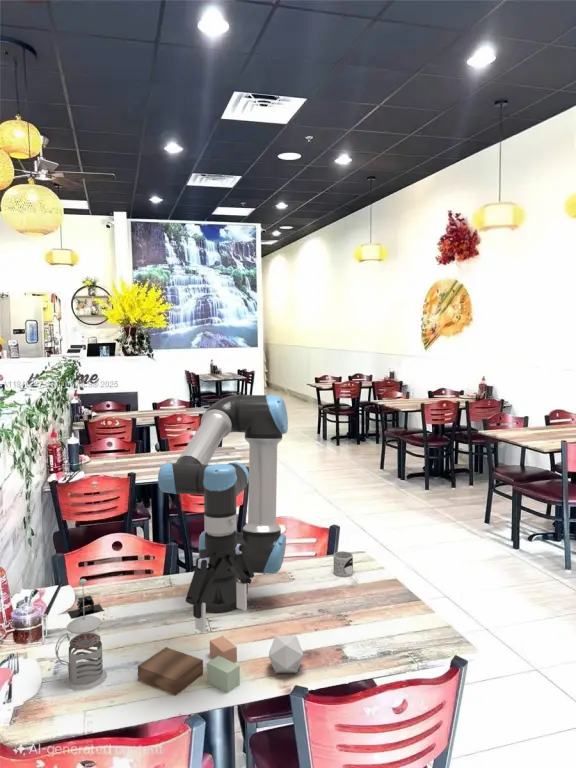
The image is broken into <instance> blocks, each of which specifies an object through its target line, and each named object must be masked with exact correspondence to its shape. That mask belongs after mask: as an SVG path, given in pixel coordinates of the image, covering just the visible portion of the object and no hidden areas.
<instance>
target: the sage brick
mask: <svg viewBox="0 0 576 768" xmlns="http://www.w3.org/2000/svg"><path fill="white" fill-rule="evenodd" d="M240 674H241V672H240V665H239V664H237V663H236V662H234V663H233V662H231V661H229V660H227V659H225V658H223V657H220V656H217V657H216V658H213V659H211V660H209V661H207V662H206V683H208V684H210V685H212V686H214V687H216V688H217V689H219V690H221V691H223V692H225V693H227V694H229V693H230V692H232V691H233V690H235V689H236V688H238V687H240V685H241V684H240V678H241V677H240Z"/></svg>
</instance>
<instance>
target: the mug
mask: <svg viewBox="0 0 576 768" xmlns="http://www.w3.org/2000/svg"><path fill="white" fill-rule="evenodd" d="M353 561H354V555H353V553H352V552H348V551H336V552H333V575H334V576H336V577H338V578H349V577H353V575H354V569H353V568H354V566H353V565H354V563H353Z"/></svg>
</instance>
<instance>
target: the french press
mask: <svg viewBox="0 0 576 768" xmlns="http://www.w3.org/2000/svg"><path fill="white" fill-rule="evenodd" d="M78 585H79V586H82V587H84V586H85V585H88V581H87V579H85V578H80V580H78ZM84 594H85V593H84V590H82V597H83V607H82V608H83V613H84V607H85V606H84V597H85V595H84ZM102 620H103V619H101V618H99V617H97V616H95V615H86V616H81V617H78V618H74V619H73V620H71V621H70V622H69V623H68V624H66V630H67V631H68V632H69V633H72V634H75V636H74V637H72V638H71V637H70V636H69V633H67V632H65V633H64V634H62V635H61V636H60V637H59V638H58V640H57V642H56V644H55V649H54V650H55V651H54V652H55V655H56V658H57V660H58V662H59V664H61V665H63V666H67V670H68V676H67V678H66V679H65V686H66V687H67V688H68V689H70V690H73V691H86V690H91V689H92V690H93V689H94V688H96V687H98V686H101V685H102V684H103V683H104V682H105V681H106V679H107V678H108V672H107V671H106V670H105V669H104V666H103V663H104V662H103V660H104V659H103V644H102V643H103V642H102V640H101V635H99V634H98V633H93V632H94V631H96V630H98V629H99V628H100V627H101V626H102V624H103V622H102ZM76 634H77V635H76ZM65 635H66V636H65ZM64 636H65V637H64ZM63 637H64V638H63ZM62 638H63V639H62ZM70 638H71V639H70ZM61 639H62V640H61ZM66 639H67V640H68V641H69V647H68V661H65V660H62V659H60V657H59V650H60V646H61V644H62V643H63V642H64V641H65V640H66ZM60 640H61V641H60ZM59 642H60V643H59ZM92 647H93V648H97V649H92ZM80 650H82V651H80ZM85 651H88V652H85ZM89 652H90V653H89ZM82 660H85V661H82ZM65 663H66V664H65Z"/></svg>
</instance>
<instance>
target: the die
mask: <svg viewBox="0 0 576 768" xmlns="http://www.w3.org/2000/svg"><path fill="white" fill-rule="evenodd" d="M268 658H269V660H270V664H271V665H272V667H273V670H274V673H275V674H292V673H293V674H295V673H298V671H299V668H300V665H301V663H302V660H303V658H304V653H303V649H302V647H301V645H300V642H299V638H298V637H297V635H274V637H273V641H272V644H271V646H270V649H269V652H268Z"/></svg>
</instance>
